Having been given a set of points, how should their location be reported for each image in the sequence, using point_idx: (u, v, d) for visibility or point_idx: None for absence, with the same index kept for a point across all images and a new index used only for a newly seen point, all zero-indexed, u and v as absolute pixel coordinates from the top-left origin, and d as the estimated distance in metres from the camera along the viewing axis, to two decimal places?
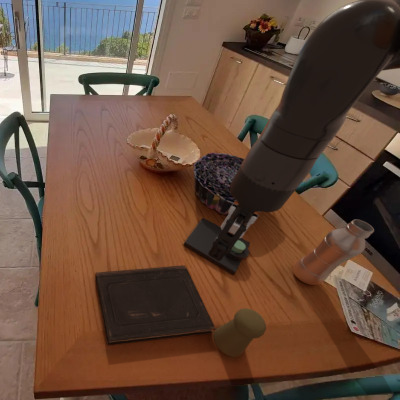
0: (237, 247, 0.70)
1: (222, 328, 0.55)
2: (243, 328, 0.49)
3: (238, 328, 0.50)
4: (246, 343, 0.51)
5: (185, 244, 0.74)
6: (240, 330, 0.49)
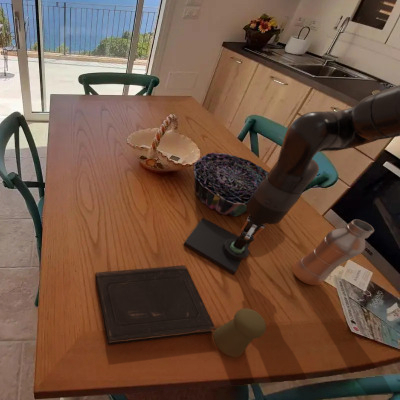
0: (236, 249, 0.70)
1: (222, 328, 0.55)
2: (243, 328, 0.49)
3: (238, 328, 0.50)
4: (246, 343, 0.51)
5: (185, 244, 0.74)
6: (240, 330, 0.49)
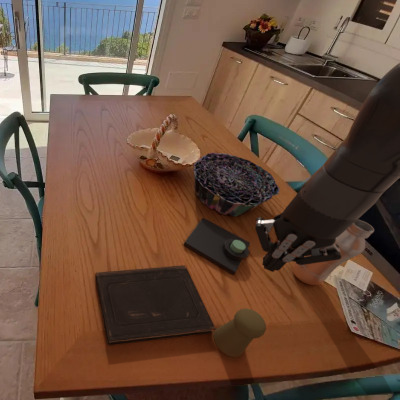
0: (237, 247, 0.70)
1: (222, 328, 0.55)
2: (243, 328, 0.49)
3: (238, 328, 0.50)
4: (246, 343, 0.51)
5: (185, 244, 0.74)
6: (240, 330, 0.49)
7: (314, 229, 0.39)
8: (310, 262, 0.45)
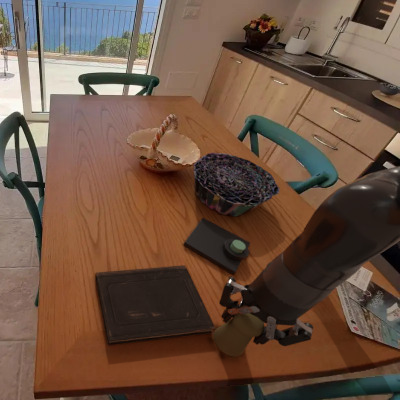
0: (237, 247, 0.70)
1: (221, 328, 0.55)
2: (241, 326, 0.49)
3: (236, 327, 0.50)
4: (245, 342, 0.51)
5: (185, 244, 0.74)
6: (239, 328, 0.50)
7: (270, 308, 0.41)
8: (290, 343, 0.45)
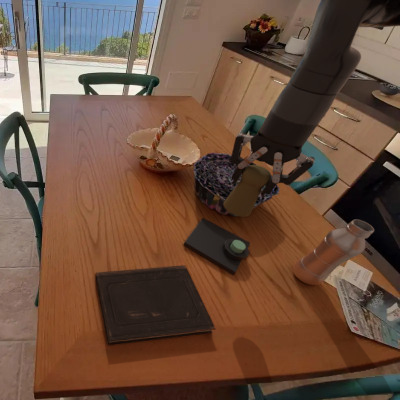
0: (237, 247, 0.70)
1: (231, 192, 0.61)
2: (250, 176, 0.55)
3: (246, 179, 0.56)
4: (253, 196, 0.57)
5: (185, 244, 0.74)
6: (248, 179, 0.55)
7: (277, 135, 0.47)
8: (294, 178, 0.51)
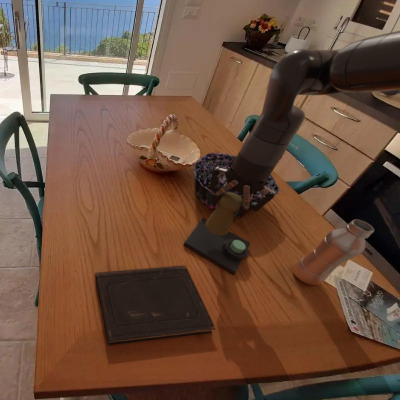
0: (237, 247, 0.70)
1: (211, 214, 0.71)
2: (225, 202, 0.65)
3: (222, 205, 0.66)
4: (229, 219, 0.67)
5: (185, 244, 0.74)
6: (224, 205, 0.65)
7: (244, 172, 0.57)
8: (260, 206, 0.61)
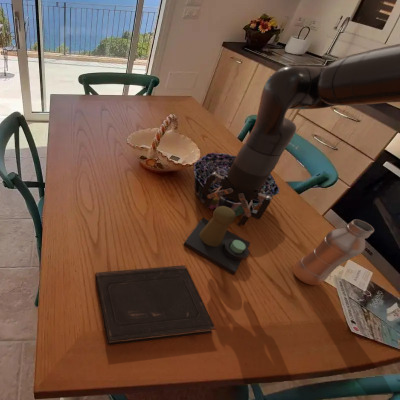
0: (237, 247, 0.70)
1: (205, 226, 0.74)
2: (219, 216, 0.68)
3: (215, 218, 0.69)
4: (222, 231, 0.70)
5: (185, 244, 0.74)
6: (217, 218, 0.69)
7: (238, 182, 0.59)
8: (261, 213, 0.62)
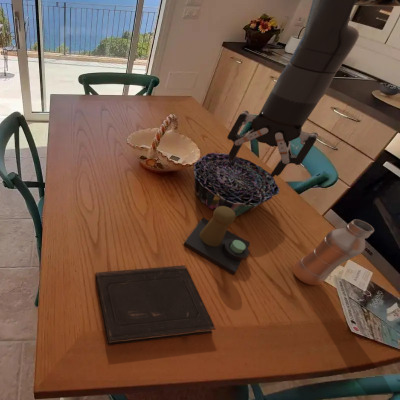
0: (237, 247, 0.70)
1: (205, 226, 0.74)
2: (219, 216, 0.68)
3: (215, 218, 0.69)
4: (222, 231, 0.70)
5: (185, 244, 0.74)
6: (217, 218, 0.69)
7: (278, 115, 0.48)
8: (303, 157, 0.51)
